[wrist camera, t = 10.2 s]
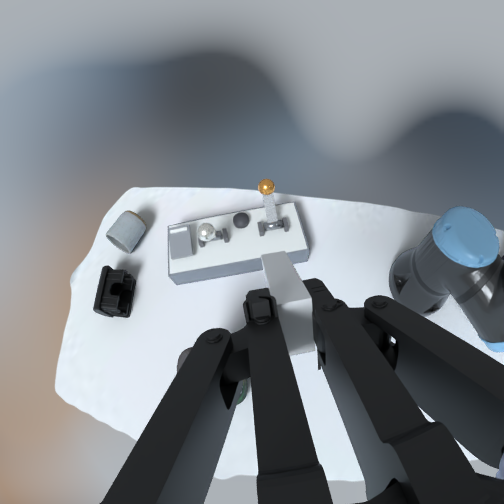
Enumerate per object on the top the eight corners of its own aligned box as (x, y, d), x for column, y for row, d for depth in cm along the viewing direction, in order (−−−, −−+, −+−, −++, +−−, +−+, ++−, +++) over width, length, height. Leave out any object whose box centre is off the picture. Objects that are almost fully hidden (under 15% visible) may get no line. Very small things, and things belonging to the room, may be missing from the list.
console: (307, 261, 57) (310, 245, 51) (176, 285, 57) (165, 272, 51) (293, 214, 62) (295, 196, 56) (174, 237, 62) (164, 221, 56)
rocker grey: (193, 255, 53) (191, 254, 51) (172, 259, 53) (170, 258, 51) (190, 225, 55) (188, 223, 53) (169, 229, 55) (167, 227, 53)
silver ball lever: (223, 243, 55) (216, 238, 44) (206, 246, 55) (195, 242, 44) (220, 227, 55) (213, 219, 45) (203, 230, 55) (192, 223, 45)
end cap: (112, 276, 59) (97, 264, 53) (136, 277, 58) (123, 265, 52) (104, 317, 55) (87, 308, 49) (129, 320, 54) (113, 311, 48)
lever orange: (283, 229, 52) (275, 177, 50) (265, 232, 52) (256, 180, 50) (281, 226, 55) (273, 177, 53) (264, 229, 55) (255, 180, 53)
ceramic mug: (152, 229, 64) (139, 211, 57) (135, 257, 61) (120, 241, 54) (124, 218, 67) (110, 201, 60) (107, 244, 64) (92, 228, 57)
